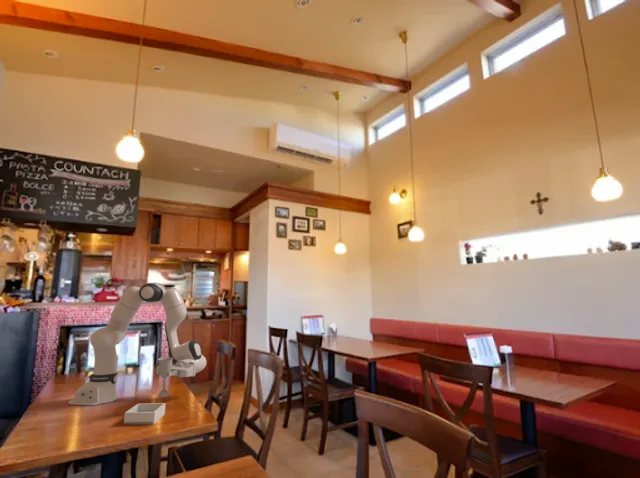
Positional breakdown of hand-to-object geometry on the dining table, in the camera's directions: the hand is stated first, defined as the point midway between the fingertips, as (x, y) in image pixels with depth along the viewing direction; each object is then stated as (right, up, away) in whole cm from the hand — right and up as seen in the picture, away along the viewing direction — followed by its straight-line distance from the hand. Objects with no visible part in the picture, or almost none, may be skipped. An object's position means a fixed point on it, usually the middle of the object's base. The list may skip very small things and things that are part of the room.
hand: (163, 373), depth 175 cm
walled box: (-2, -15, -15) cm, 21 cm away
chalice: (0, -11, 0) cm, 11 cm away
